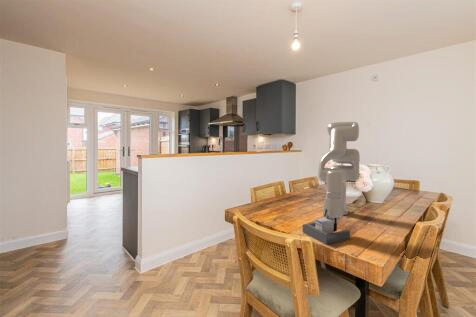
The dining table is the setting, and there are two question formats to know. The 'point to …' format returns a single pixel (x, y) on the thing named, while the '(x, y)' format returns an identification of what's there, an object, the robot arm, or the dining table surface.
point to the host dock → (325, 234)
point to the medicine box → (325, 225)
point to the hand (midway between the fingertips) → (333, 230)
